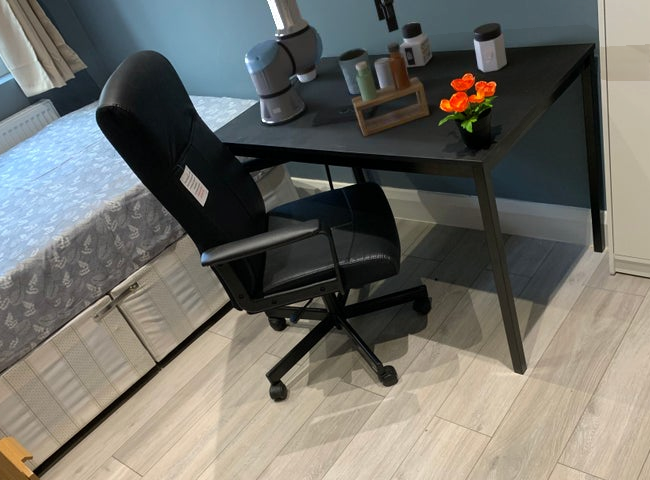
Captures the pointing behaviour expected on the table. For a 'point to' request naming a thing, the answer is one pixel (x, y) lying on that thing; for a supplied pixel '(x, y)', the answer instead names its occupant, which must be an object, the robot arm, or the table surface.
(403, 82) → the amber bottle
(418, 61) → the container
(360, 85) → the sage bottle
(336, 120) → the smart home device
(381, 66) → the beverage can
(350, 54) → the blue-grey plant pot
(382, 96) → the wooden frame
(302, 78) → the coffee cup
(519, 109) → the table surface
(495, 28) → the jar
